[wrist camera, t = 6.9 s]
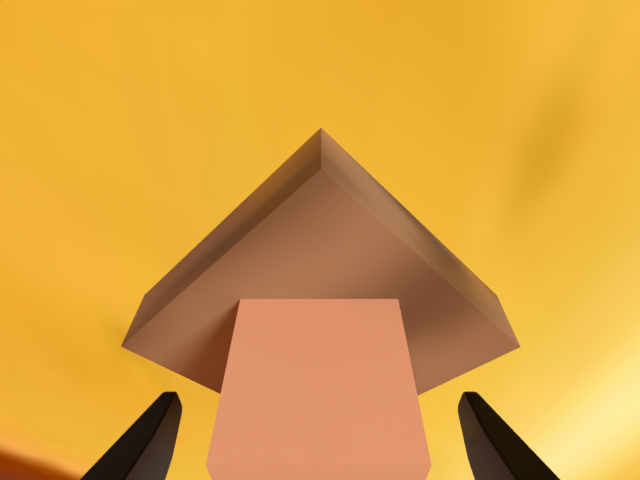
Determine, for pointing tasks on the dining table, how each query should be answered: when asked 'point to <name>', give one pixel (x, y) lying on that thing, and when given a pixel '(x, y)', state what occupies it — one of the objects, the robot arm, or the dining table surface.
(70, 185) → the dining table surface
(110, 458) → the robot arm
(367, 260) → the base
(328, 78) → the dining table surface
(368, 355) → the cube
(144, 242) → the dining table surface
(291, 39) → the dining table surface
